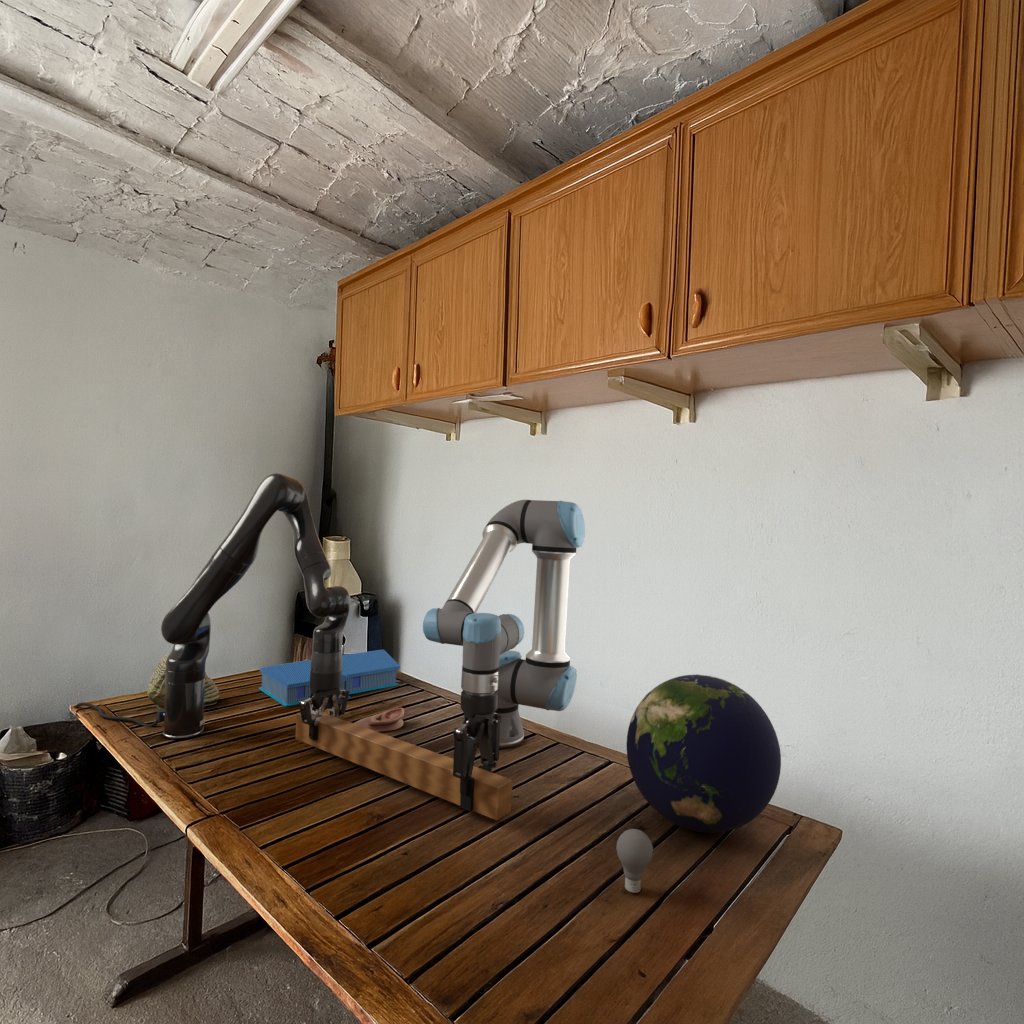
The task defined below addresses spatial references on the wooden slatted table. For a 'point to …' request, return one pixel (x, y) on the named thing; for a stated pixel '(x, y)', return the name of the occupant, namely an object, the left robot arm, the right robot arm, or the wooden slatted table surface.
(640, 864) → the light bulb
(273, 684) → the model building
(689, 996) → the wooden slatted table surface
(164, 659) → the fossil
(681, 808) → the globe
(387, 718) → the anatomical model
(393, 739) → the post
